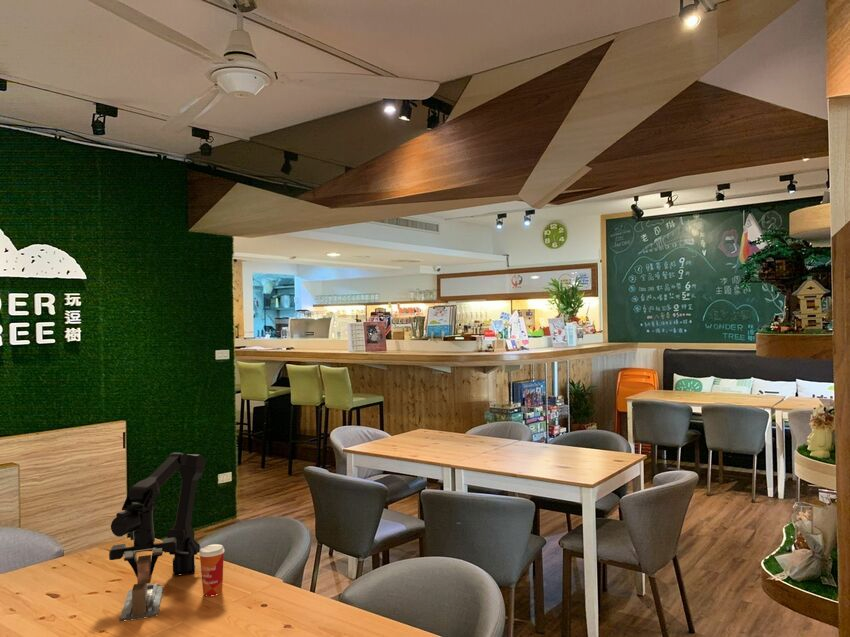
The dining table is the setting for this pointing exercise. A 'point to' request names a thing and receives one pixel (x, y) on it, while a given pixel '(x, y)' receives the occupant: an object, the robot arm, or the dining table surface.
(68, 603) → the dining table surface
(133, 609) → the rail
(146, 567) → the tan wooden block
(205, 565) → the paper cup
